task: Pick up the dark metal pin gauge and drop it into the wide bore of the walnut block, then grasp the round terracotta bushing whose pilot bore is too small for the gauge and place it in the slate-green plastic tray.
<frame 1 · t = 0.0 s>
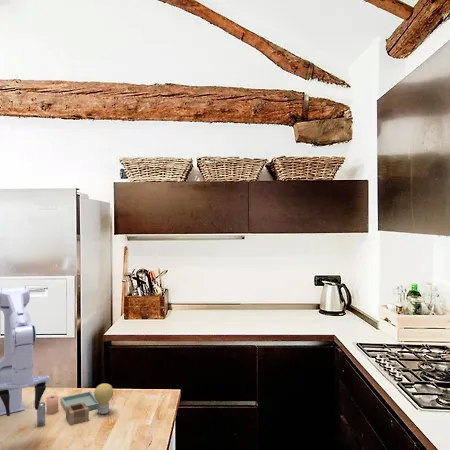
hand: (22, 411, 124), 10 cm above the countertop, fingers open, 7 cm apart
terracotta round: (52, 411, 145), on the countertop
light bulb: (103, 413, 145), on the countertop
pin gauge: (41, 425, 136), on the countertop
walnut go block: (77, 419, 140), on the countertop
tray: (80, 405, 151), on the countertop
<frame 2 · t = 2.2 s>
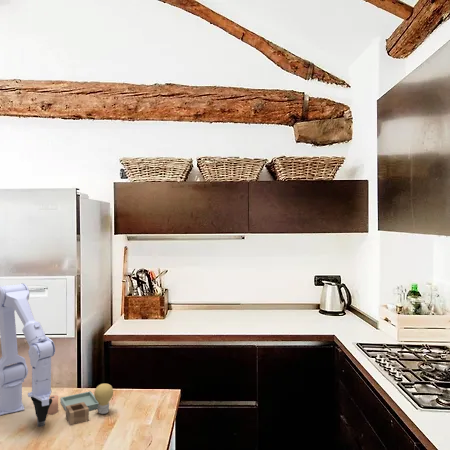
hand: (41, 419, 136), 2 cm above the countertop, fingers closed on pin gauge, 2 cm apart
pin gauge: (41, 425, 136), on the countertop, touching gripper
everything else where it was.
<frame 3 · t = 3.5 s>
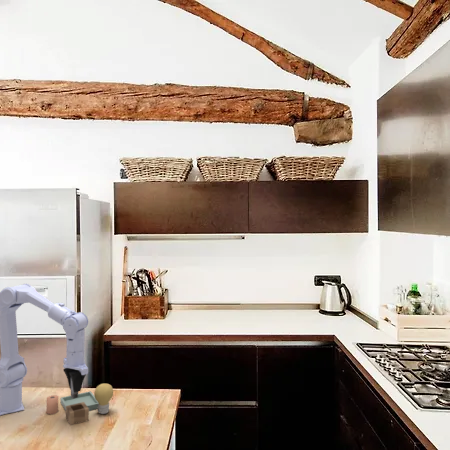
hand: (75, 390, 140), 10 cm above the countertop, fingers closed on pin gauge, 2 cm apart
pin gauge: (74, 396, 140), point 8 cm above the countertop, touching gripper
everything else where it was.
when the fingers open (5 cm above the countertop, at t = 5.0 s): pin gauge drops 3 cm, resting in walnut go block.
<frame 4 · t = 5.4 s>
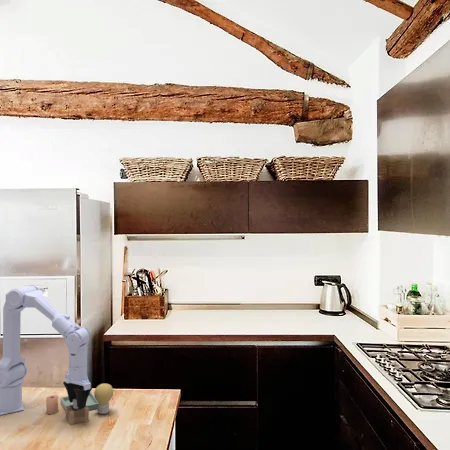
hand: (77, 404, 140), 5 cm above the countertop, fingers open, 6 cm apart
pin gauge: (76, 419, 140), resting in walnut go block
everything else where it was.
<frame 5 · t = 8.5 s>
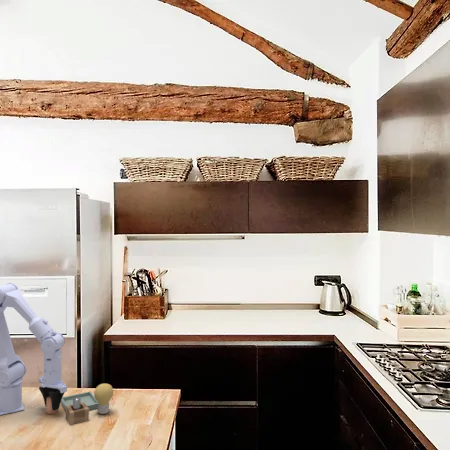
hand: (52, 407, 145), 1 cm above the countertop, fingers closed on terracotta round, 4 cm apart
terracotta round: (52, 411, 145), on the countertop, touching gripper
everything else where it was.
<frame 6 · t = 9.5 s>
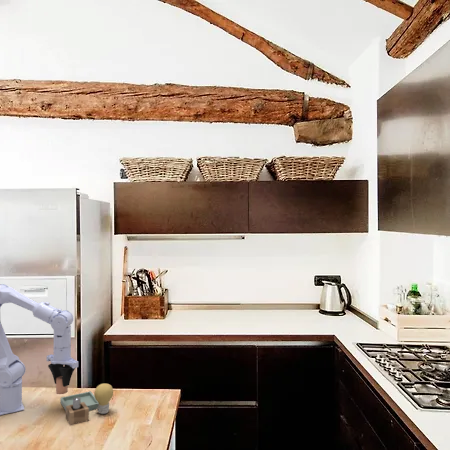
hand: (62, 384, 147), 9 cm above the countertop, fingers closed on terracotta round, 4 cm apart
terracotta round: (61, 392, 147), point 6 cm above the countertop, touching gripper
everything else where it was.
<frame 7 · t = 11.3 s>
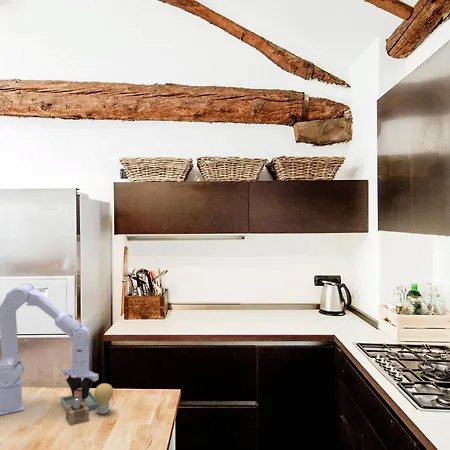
hand: (80, 397, 151), 3 cm above the countertop, fingers closed on terracotta round, 4 cm apart
terracotta round: (79, 404, 150), resting on tray, touching gripper
everything else where it was.
when the fingers open (3 cm above the countertop, at t = 11.4 s): terracotta round stays where it is, resting on tray.
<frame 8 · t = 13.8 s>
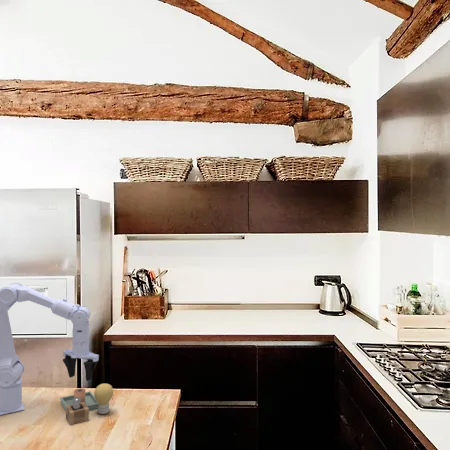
hand: (80, 378, 150), 10 cm above the countertop, fingers open, 7 cm apart
terracotta round: (79, 404, 150), point 1 cm above the countertop, touching tray
everything else where it was.
at the end: terracotta round inside the target area on the tray (0.3 cm from its centre), point 0.5 cm above the tray's base; pin gauge 0.2 cm off-centre on the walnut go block, point 0.0 cm above the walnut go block's base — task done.
